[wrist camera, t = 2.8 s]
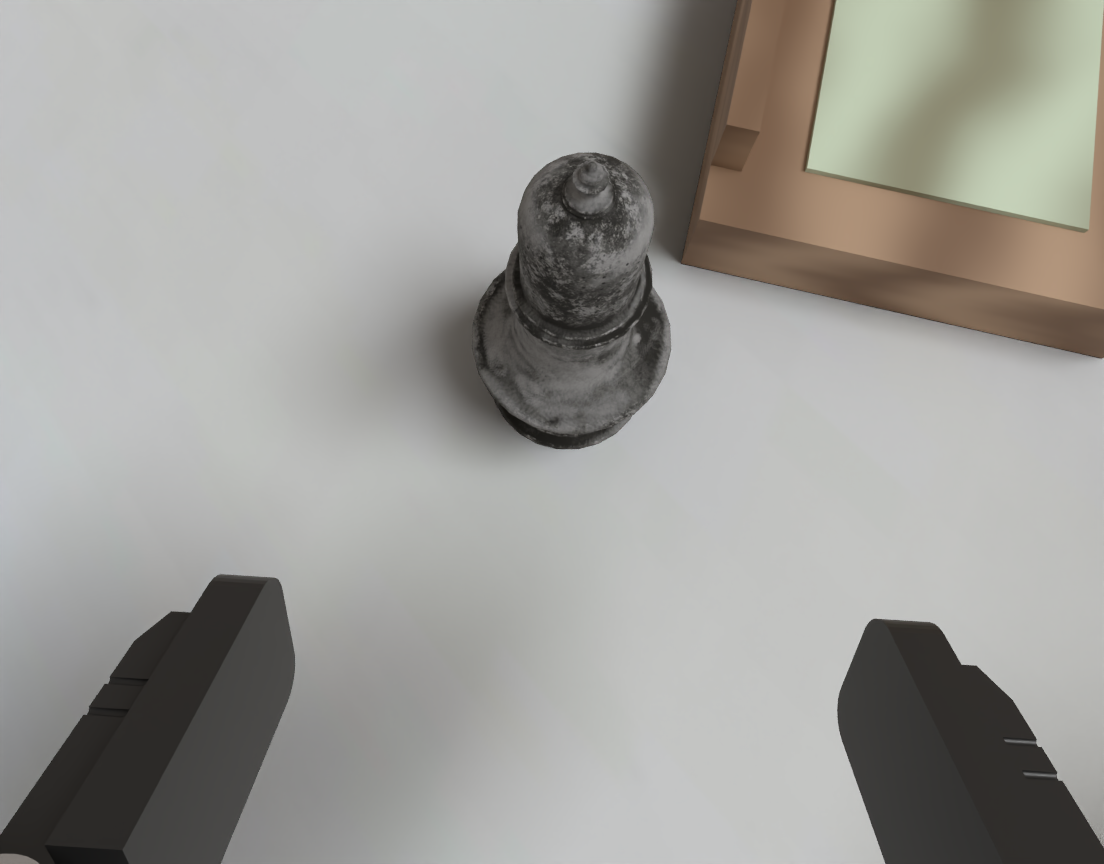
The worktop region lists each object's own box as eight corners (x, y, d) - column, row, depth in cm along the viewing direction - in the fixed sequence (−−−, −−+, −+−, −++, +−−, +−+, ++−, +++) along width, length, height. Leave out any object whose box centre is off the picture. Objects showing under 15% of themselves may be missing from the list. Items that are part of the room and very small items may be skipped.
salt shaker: (446, 389, 24) (359, 189, 13) (551, 263, 25) (560, -25, 14) (584, 493, 23) (629, 384, 12) (686, 359, 25) (818, 140, 13)
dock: (680, 263, 25) (714, 182, 21) (747, -47, 29) (789, -179, 24) (1102, 358, 25) (1238, 298, 20) (1121, 31, 28) (1242, -89, 23)
